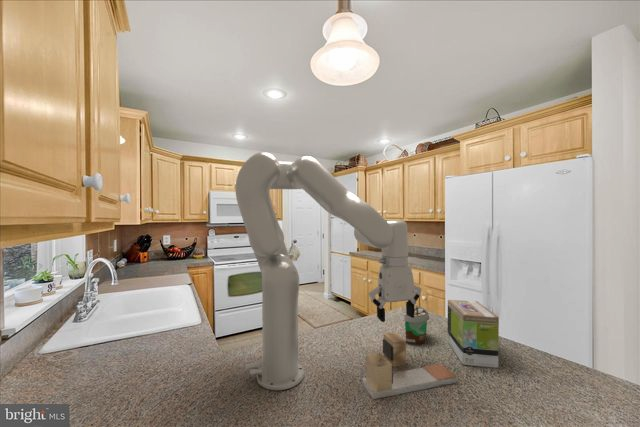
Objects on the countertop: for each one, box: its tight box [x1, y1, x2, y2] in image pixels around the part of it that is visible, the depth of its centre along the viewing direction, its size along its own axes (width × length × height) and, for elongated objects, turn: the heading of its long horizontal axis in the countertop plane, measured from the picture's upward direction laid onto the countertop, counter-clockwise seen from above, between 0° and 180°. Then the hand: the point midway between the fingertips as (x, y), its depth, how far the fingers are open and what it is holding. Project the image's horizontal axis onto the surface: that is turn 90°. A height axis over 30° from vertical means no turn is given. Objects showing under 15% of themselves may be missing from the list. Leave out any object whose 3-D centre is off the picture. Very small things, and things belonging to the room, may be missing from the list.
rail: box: [361, 352, 458, 400], centre depth 70 cm, size 24×6×8 cm, turn 105°
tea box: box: [446, 299, 500, 369], centre depth 85 cm, size 15×10×15 cm, turn 171°
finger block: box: [382, 331, 407, 368], centre depth 81 cm, size 5×6×7 cm
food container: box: [404, 305, 430, 345], centre depth 94 cm, size 12×6×10 cm, turn 143°
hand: (396, 318), depth 82 cm, fingers open, 9 cm apart
